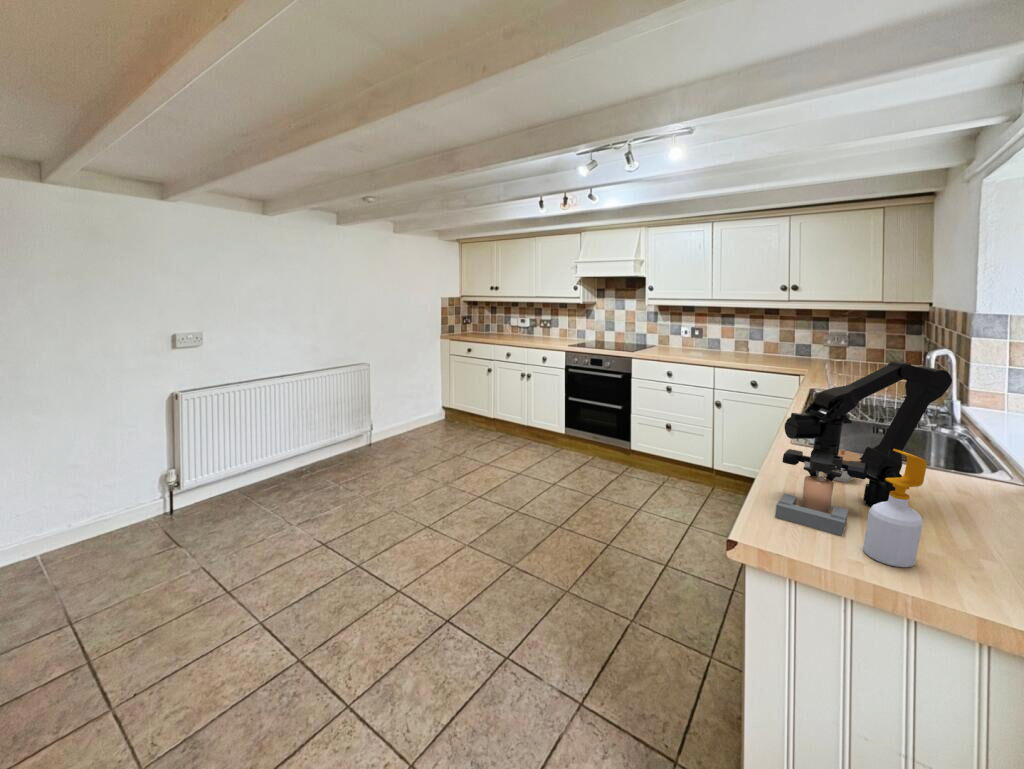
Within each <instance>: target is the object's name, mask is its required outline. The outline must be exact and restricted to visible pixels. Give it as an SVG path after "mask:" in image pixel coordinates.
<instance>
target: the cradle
mask: <svg viewBox="0 0 1024 769" xmlns="http://www.w3.org/2000/svg"><path fill="white" fill-rule="evenodd" d="M797 499H798V496H796V495H792V494H789V493H785V492H784V493H783V494H782V495H781V498H780V499H779V500H778V502H777V504H776V505H775V506H776V508H775V514H774V515H775V516H774V517H775V519H779V520H783V521H787V522H790V523H793V524H796V525H797V524H798V525H800V526H801V525H802V526H805V527H807V528H812V529H814V530H818V531H821V532H826V533H829V534H833V535H837V536H840V537H843V535H844V532H845V528H846V525H847V522H848V516H849V508H845V507H840V506H837V505H834V506H833V509H832V511H831V513H829V514H828V513H824V512H820V511H816V510H812V509H808V508H804V507H801V505H797Z"/></svg>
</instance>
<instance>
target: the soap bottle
mask: <svg viewBox="0 0 1024 769" xmlns="http://www.w3.org/2000/svg"><path fill="white" fill-rule="evenodd" d="M893 451H896V452H899V453H901V455H904V456H906V463H905V469H904V474H903V475H902V477H899V478H886V479H885V480H886V481H888V482H890V483H892V484H893V486H894V487H896V488H895V491H890V494H889V499H888V501H886V502H880V503H877V504H874V505H873V506H870V509H869V512H868V516H867V522H866V527H865V533H864V534H865V535H864V541H863V545H862V550H863V551H864V553H865V555H867V556H868V557H870V558H872V559H873V560H875V561H877V562H879V563H882V564H885V565H887V566H891V567H897V568H910V567H914V566H915V563H916V560H917V556H918V550H919V546H920V545H919V544H920V541H921V540H920V539H921V535H922V528H923V526H924V525H923V523H924V521H923V517H922V516H921V515H920V514H919V513H918V512H917V511H916V510H915V509H913V508H912V507H910V506H909V501H910V495H909V494H907V493H906V490H908V491H909V490H910V488H917V487H921V486H922V485H923V483H924V481H925V476H926V471H927V465H928V463H927V460H926V459H924V458H921V457H919V456H916V455H913V454H911V453H908V452H905V451H900V450H896V449H893Z"/></svg>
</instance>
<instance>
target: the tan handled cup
mask: <svg viewBox="0 0 1024 769" xmlns="http://www.w3.org/2000/svg"><path fill="white" fill-rule="evenodd" d="M803 481H804V482H803V487H802V494H801V503H800V506H801V507H804V508H808V509H812V510H816V511H820V512H824V513H828V514H830V511H831V506H832V505H831V504H832V499H833V490H834V484H835V482H834V480H832V481H831V480H829V479H827V478H826V476H823V475H819V477H818V476H810V475H806V476H804V480H803Z"/></svg>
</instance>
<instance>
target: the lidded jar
mask: <svg viewBox="0 0 1024 769" xmlns="http://www.w3.org/2000/svg"><path fill="white" fill-rule="evenodd" d="M838 456H841V457H843V462H842V463H845V464H849V463H850V461H855V462H861V460H860V458H861V457H862V456H863V455H860V454H858V453H856V452H852V451H848V450H846V449H842V448H841V449H839V454H838ZM826 476H827V474H826ZM854 479H855V478H853V477H850V476H849V475H848V474H847V471H843V473H842V475H841V477H835V478H834V479H833V480H832V481H836V480H837V482H840V481H841V483H848V482H851V480H854Z"/></svg>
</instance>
